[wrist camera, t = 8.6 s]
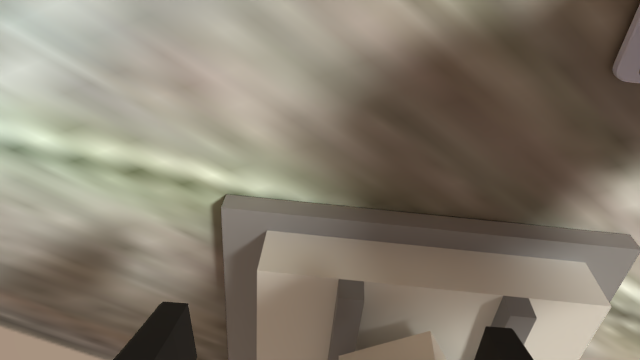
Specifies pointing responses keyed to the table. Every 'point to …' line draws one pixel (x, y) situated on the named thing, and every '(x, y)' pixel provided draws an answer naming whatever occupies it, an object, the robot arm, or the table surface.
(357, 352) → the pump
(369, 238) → the stepped base plate
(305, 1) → the table surface
